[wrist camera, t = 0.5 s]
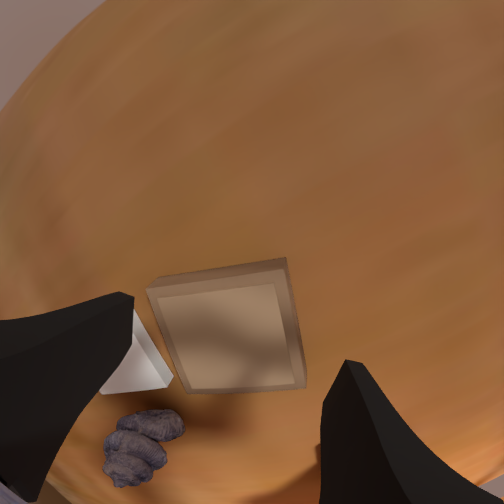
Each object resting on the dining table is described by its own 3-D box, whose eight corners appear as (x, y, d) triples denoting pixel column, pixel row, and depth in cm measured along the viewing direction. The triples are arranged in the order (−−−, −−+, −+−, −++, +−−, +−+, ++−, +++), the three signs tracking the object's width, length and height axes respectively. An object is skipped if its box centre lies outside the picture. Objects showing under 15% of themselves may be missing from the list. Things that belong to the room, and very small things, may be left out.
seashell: (156, 426, 27) (116, 501, 18) (127, 388, 26) (74, 463, 17) (200, 422, 26) (165, 509, 17) (171, 381, 25) (121, 470, 15)
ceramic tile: (173, 376, 25) (167, 387, 23) (109, 385, 27) (102, 394, 25) (125, 293, 23) (115, 301, 21) (65, 315, 25) (55, 322, 23)
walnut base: (306, 370, 22) (306, 389, 20) (194, 378, 24) (186, 395, 22) (285, 257, 20) (283, 269, 18) (157, 277, 22) (144, 289, 20)
